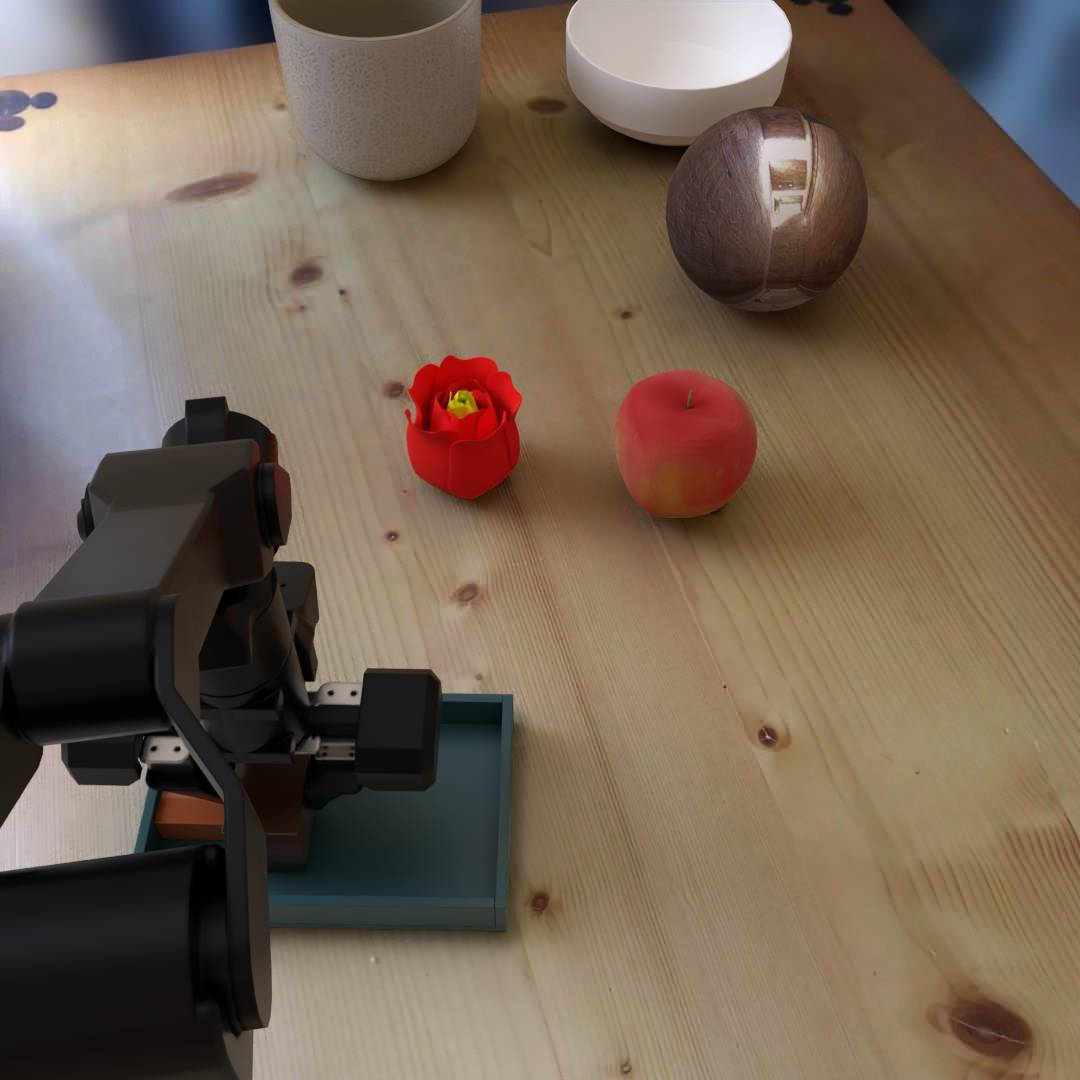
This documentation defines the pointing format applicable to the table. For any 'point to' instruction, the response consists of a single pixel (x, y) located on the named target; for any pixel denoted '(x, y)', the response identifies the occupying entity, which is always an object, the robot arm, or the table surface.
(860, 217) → the wooden sphere
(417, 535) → the table surface
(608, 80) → the bowl
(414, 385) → the flower
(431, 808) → the tray
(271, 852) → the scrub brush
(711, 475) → the apple
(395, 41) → the planter
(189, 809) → the clay crumb
